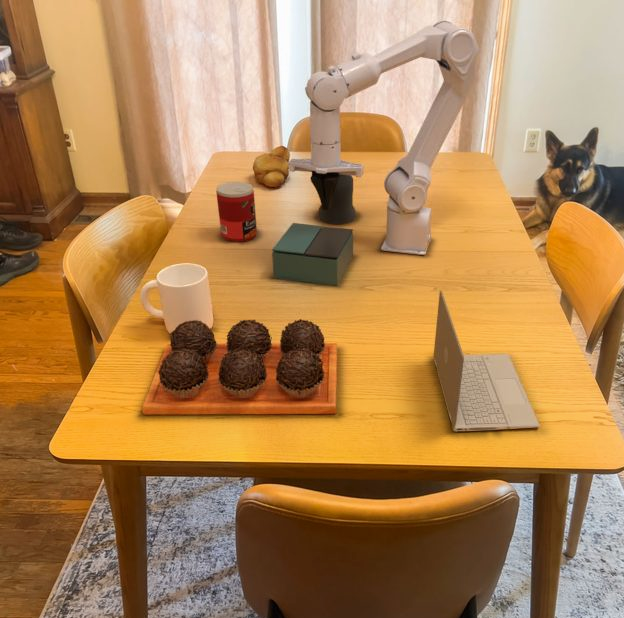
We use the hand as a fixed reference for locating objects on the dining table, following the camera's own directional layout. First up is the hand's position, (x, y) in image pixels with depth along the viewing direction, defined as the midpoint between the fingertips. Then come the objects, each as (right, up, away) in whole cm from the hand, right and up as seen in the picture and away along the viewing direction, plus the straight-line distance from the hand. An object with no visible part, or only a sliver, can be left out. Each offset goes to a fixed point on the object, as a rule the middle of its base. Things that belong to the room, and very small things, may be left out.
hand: (326, 208), depth 135 cm
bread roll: (-16, +19, +39) cm, 46 cm away
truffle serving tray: (-11, -34, -31) cm, 47 cm away
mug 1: (-25, -25, -18) cm, 39 cm away
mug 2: (+2, +3, +24) cm, 24 cm away
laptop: (+25, -35, -33) cm, 54 cm away
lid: (+1, -7, -3) cm, 8 cm away
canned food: (-20, -3, +14) cm, 24 cm away
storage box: (-2, -12, +1) cm, 12 cm away
